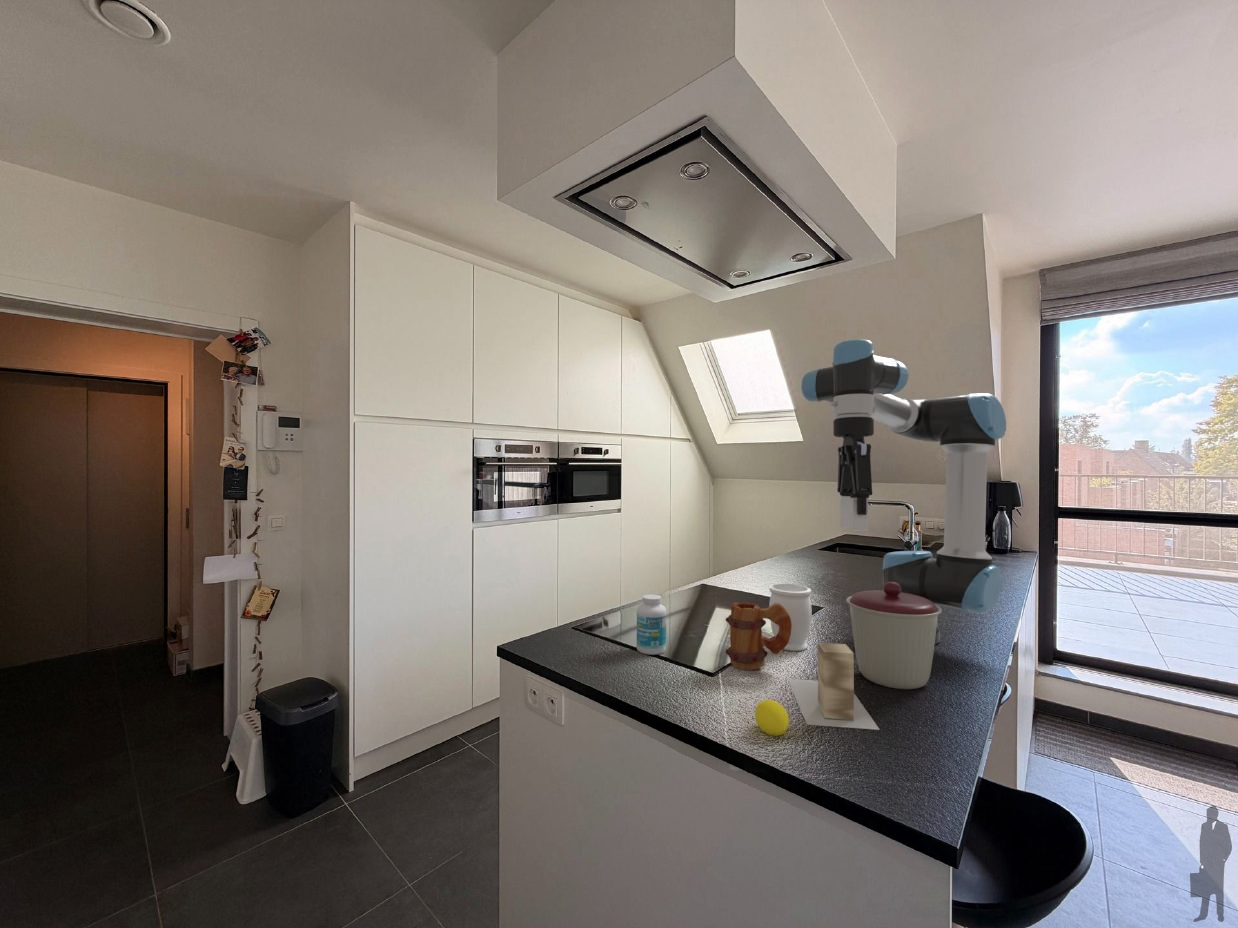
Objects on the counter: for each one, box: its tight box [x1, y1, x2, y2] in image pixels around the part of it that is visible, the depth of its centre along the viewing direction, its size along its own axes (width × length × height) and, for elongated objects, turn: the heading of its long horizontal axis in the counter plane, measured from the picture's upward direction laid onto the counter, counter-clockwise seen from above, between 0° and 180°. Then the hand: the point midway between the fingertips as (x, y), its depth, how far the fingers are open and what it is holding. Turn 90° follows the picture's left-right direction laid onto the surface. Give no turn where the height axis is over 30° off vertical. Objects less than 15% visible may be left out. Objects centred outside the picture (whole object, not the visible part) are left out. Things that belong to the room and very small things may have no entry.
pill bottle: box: [636, 594, 667, 656], centre depth 129 cm, size 8×7×14 cm
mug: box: [724, 602, 792, 671], centre depth 117 cm, size 15×8×15 cm, turn 70°
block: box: [817, 642, 855, 721], centre depth 94 cm, size 5×5×12 cm
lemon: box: [754, 699, 790, 737], centre depth 88 cm, size 7×5×5 cm
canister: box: [846, 582, 943, 690], centre depth 111 cm, size 18×18×21 cm
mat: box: [787, 678, 881, 731], centre depth 99 cm, size 12×20×1 cm, turn 171°
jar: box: [768, 583, 813, 652], centre depth 132 cm, size 11×10×15 cm
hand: (853, 529), depth 105 cm, fingers open, 8 cm apart
